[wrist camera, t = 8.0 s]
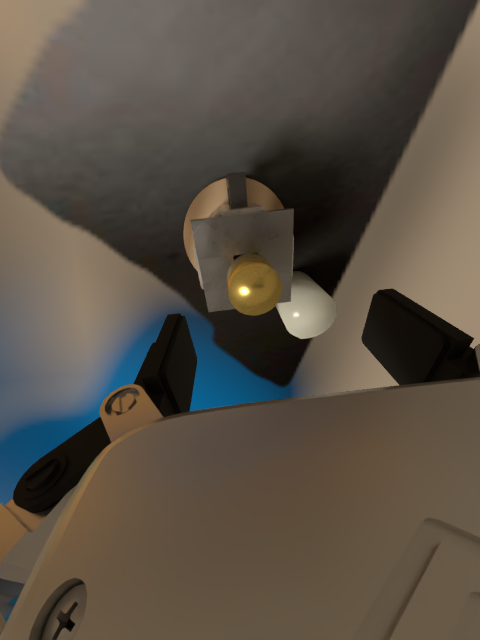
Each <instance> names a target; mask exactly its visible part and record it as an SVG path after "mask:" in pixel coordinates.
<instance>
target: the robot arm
mask: <svg viewBox="0 0 480 640" xmlns="http://www.w3.org/2000/svg"><path fill="white" fill-rule="evenodd" d="M473 339H474V338H473V337H471V336H469V335H468V334H466V333H464V332H463V331H461V330H459V329H458V328H456V327H455V326H453V325H451V324H450V323H448V322H446V321H445V320H443V319H442V318H440V317H438V316H437V315H435V314H433V313H432V312H430V311H428V310H427V309H425V308H424V307H422V306H420V305H418V304H417V303H415V302H414V301H412V300H411V299H409V298H407V297H406V296H404V295H402V294H401V293H399V292H397V291H396V290H394V289H384V290H379V291H377V293H376V294H374V295H373V298H372V302H371V305H370V309H369V312H368V316H367V320H366V323H365V327H364V330H363V334H362V342H363V344H364V345H365V346H366V347H367V348H368V350H369V351H370V352H371V353H372V354H373V355H374V357H375V358H376V359H377V360H378V361H379V362H380V363H381V364H382V366H383V367H384V368H385V369H386V370H387V371H388V372H389V373H390V375H391V376H392V377H393V378H394V379H395V380H396V382H397V383H398V384H399V386H390V387H382V388H372V389H363V390H355V391H346V392H338V393H329V394H320V395H312V396H304V397H296V398H287V399H279V400H271V401H262V402H255V403H246V404H238V405H231V406H224V407H217V408H209V409H202V410H196V411H190V404H191V398H192V391H193V385H194V379H195V372H196V366H197V356H196V353H195V349H194V346H193V342H192V339H191V335H190V332H189V328H188V325H187V321H186V318H185V316H181V314H170V315H168V316H167V318H166V320H165V322H164V324H163V327H162V329H161V331H160V334H159V336H158V338H157V340H156V342H155V343H153V344H152V345H151V347H150V349H149V351H148V353H147V356H146V358H145V360H144V362H143V364H142V366H141V369H140V371H139V373H138V375H137V377H136V380H135V382H134V384H130V385H126V386H122V387H120V388H118V389H116V390H115V391H113V392H112V393H111V394H109V395H108V396H107V397H106V398H105V400H104V401H103V403H102V404H101V407H100V410H99V411H100V416H101V417H99V418H98V419H96V420H95V421H93V422H92V423H91V424H89V425H88V426H86V427H85V428H84V429H82V430H81V431H79V432H78V433H76V434H75V435H73V436H72V437H71V438H69V439H68V440H66V441H65V442H63V443H62V444H60V445H59V446H58V447H57V448H55V449H53V450H52V451H50V452H49V453H48V454H46V455H45V456H43V457H42V458H40V459H39V460H38V461H37V462H36V463H34V464H33V465H32V466H31V467H30V468H29V469H28V470H27V471H26V472H25V473H24V475H23V476H22V477H21V479H20V480H19V482H18V483H17V486H16V488H15V490H14V494H13V498H12V500H10V501H9V502H8V503H7V504H6V505H3V504H0V640H480V344H478V345H477V346H476V347H475V348H474V349H473V348H471V347H470V344H471V343H472V341H473ZM189 411H190V412H189Z"/></svg>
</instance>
